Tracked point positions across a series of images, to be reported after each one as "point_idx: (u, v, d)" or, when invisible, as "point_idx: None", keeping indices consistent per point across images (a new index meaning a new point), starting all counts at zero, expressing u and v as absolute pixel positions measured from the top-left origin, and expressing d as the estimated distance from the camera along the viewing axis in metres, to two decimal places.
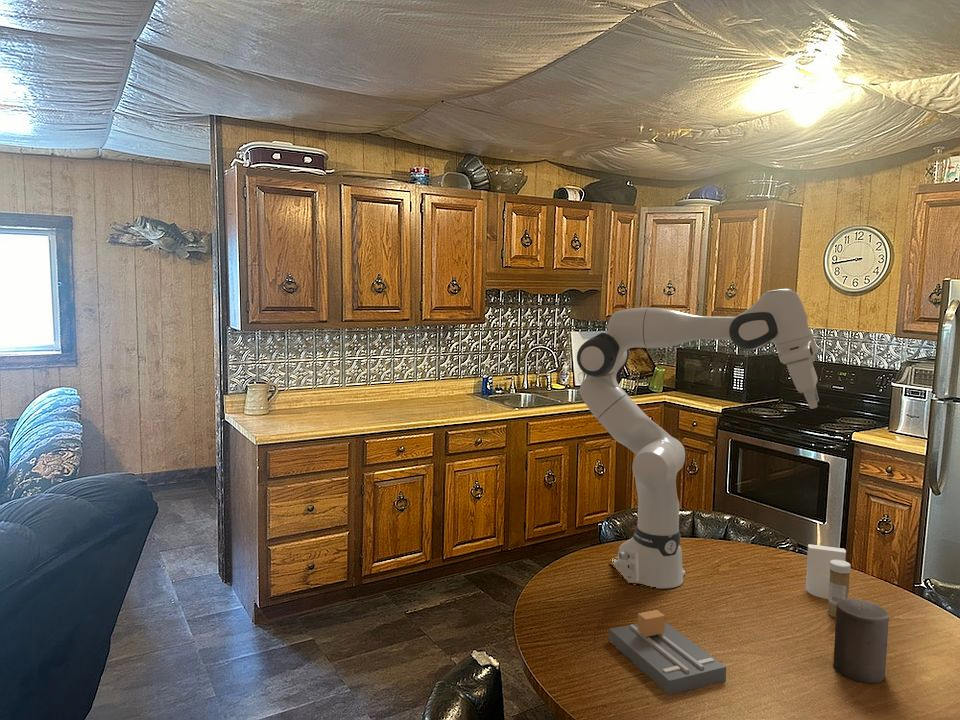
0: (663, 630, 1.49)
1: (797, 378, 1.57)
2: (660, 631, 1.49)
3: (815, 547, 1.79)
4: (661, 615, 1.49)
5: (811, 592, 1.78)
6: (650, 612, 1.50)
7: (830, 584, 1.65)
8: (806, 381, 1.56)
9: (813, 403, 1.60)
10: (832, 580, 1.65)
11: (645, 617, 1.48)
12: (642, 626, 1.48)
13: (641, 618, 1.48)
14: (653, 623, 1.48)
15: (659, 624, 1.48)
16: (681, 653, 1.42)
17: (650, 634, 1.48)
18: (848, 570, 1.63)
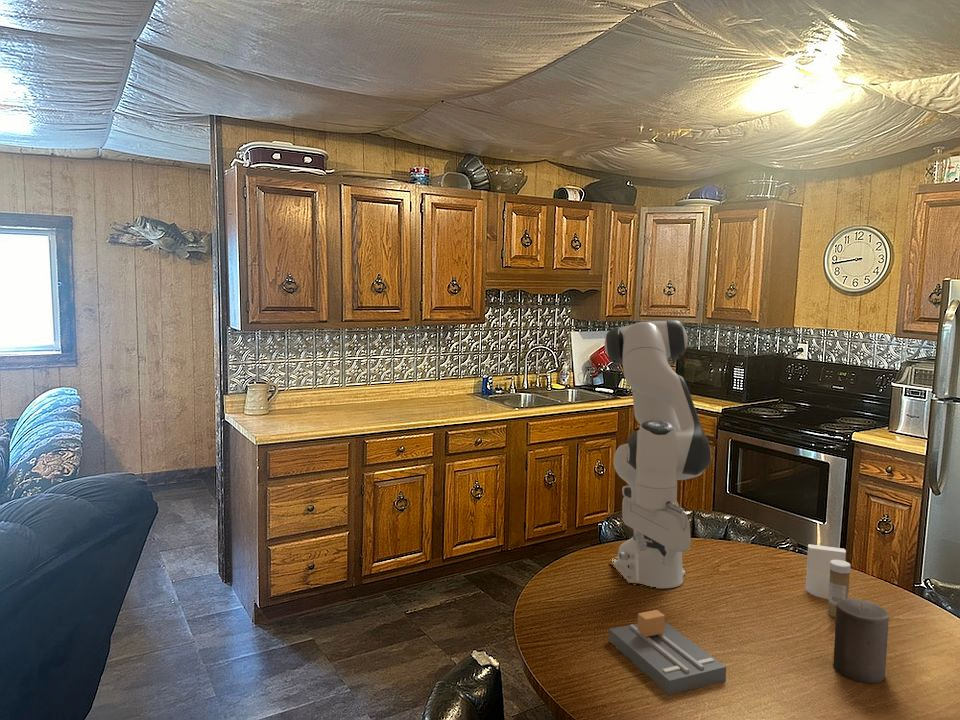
0: (663, 630, 1.49)
1: None
2: (660, 631, 1.49)
3: (815, 547, 1.79)
4: (661, 615, 1.49)
5: (811, 592, 1.78)
6: (650, 612, 1.50)
7: (830, 584, 1.65)
8: None
9: None
10: (832, 580, 1.65)
11: (645, 617, 1.48)
12: (642, 626, 1.48)
13: (641, 618, 1.48)
14: (653, 623, 1.48)
15: (659, 624, 1.48)
16: (681, 653, 1.42)
17: (650, 634, 1.48)
18: (848, 570, 1.63)
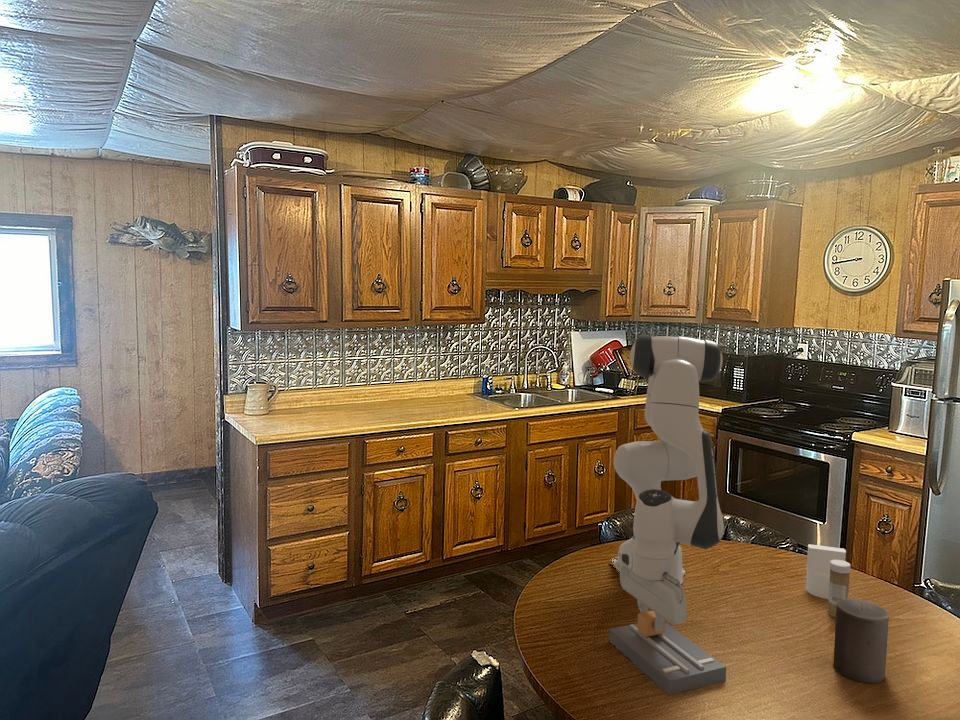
0: (663, 630, 1.49)
1: None
2: (660, 631, 1.49)
3: (815, 547, 1.79)
4: None
5: (811, 592, 1.78)
6: (650, 612, 1.50)
7: (830, 584, 1.65)
8: None
9: None
10: (832, 580, 1.65)
11: (645, 617, 1.48)
12: (642, 626, 1.48)
13: (641, 618, 1.48)
14: None
15: None
16: (681, 653, 1.42)
17: (650, 634, 1.48)
18: (848, 570, 1.63)
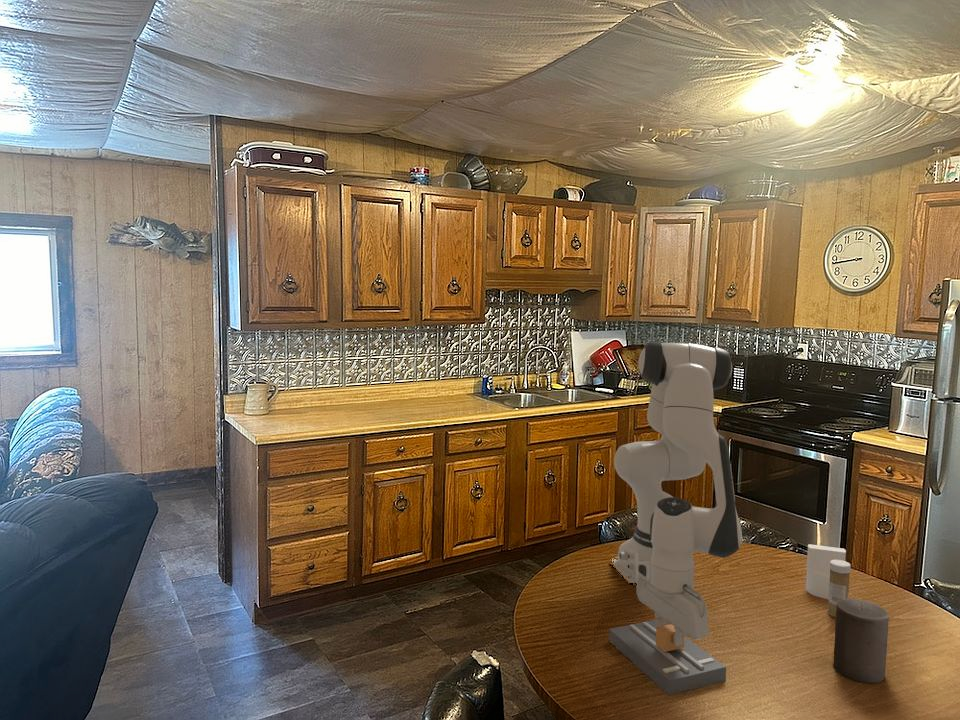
0: (682, 645, 1.43)
1: None
2: (679, 646, 1.42)
3: (815, 547, 1.79)
4: None
5: (811, 592, 1.78)
6: (669, 626, 1.44)
7: (830, 584, 1.65)
8: None
9: None
10: (832, 580, 1.65)
11: (664, 631, 1.41)
12: (661, 640, 1.42)
13: (659, 632, 1.42)
14: None
15: None
16: (681, 653, 1.42)
17: (669, 649, 1.41)
18: (848, 570, 1.63)
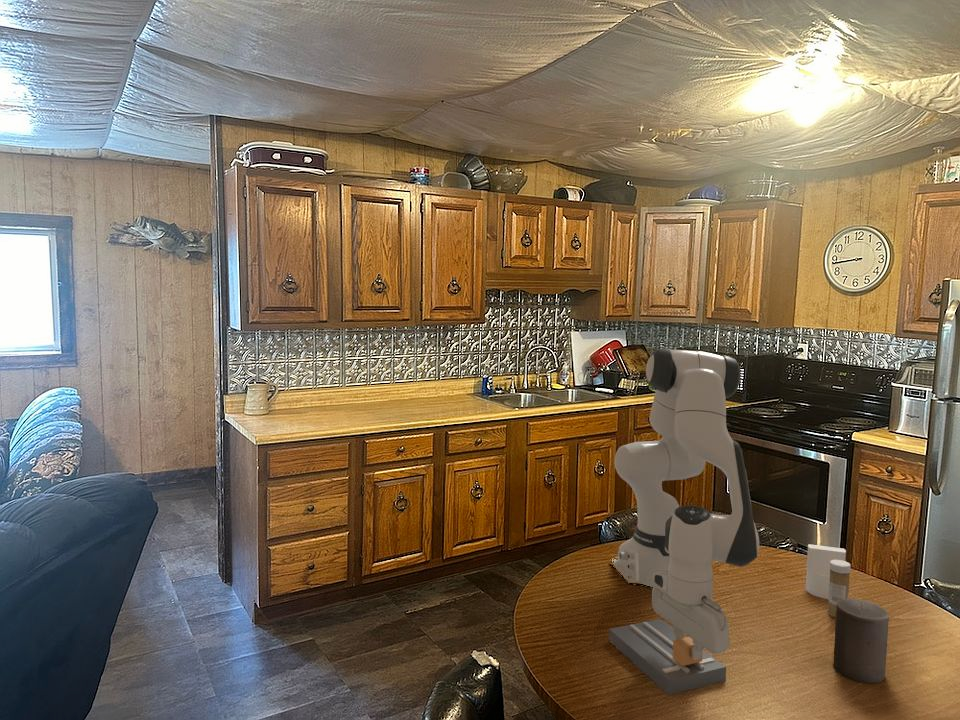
0: (701, 658, 1.37)
1: None
2: (697, 660, 1.37)
3: (815, 547, 1.79)
4: None
5: (811, 592, 1.78)
6: (687, 638, 1.39)
7: (830, 584, 1.65)
8: None
9: None
10: (832, 580, 1.65)
11: (682, 645, 1.36)
12: (678, 654, 1.37)
13: (677, 645, 1.37)
14: None
15: None
16: None
17: (687, 663, 1.36)
18: (848, 570, 1.63)
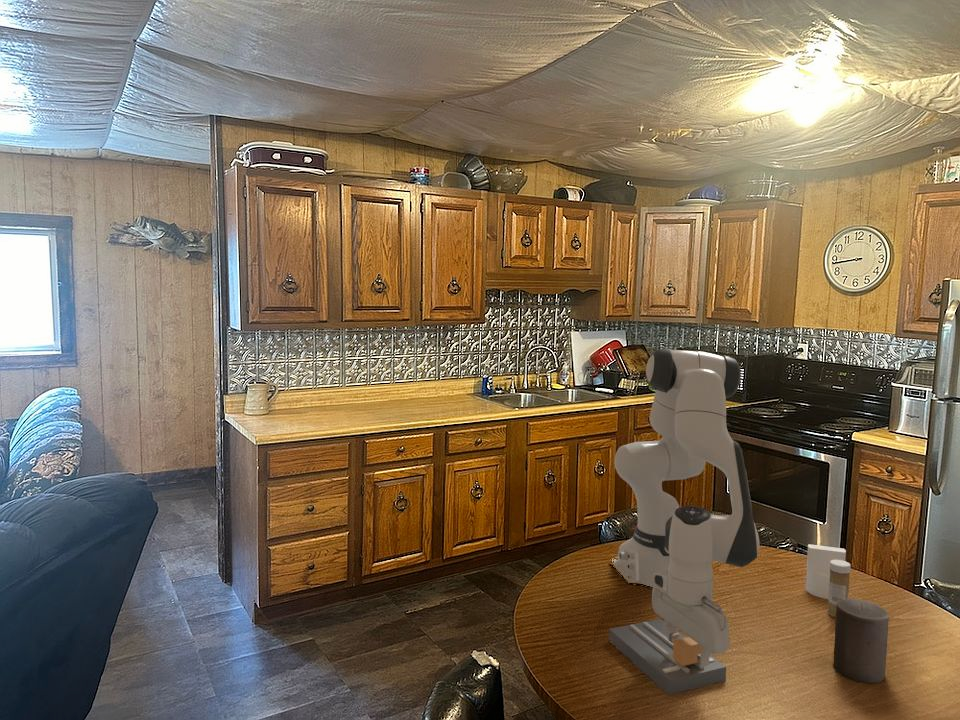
0: None
1: None
2: None
3: (815, 547, 1.79)
4: None
5: (811, 592, 1.78)
6: (687, 639, 1.39)
7: (830, 584, 1.65)
8: None
9: None
10: (832, 580, 1.65)
11: (682, 645, 1.36)
12: (678, 654, 1.36)
13: (677, 646, 1.37)
14: (690, 651, 1.36)
15: (696, 652, 1.37)
16: None
17: (687, 663, 1.36)
18: (848, 570, 1.63)
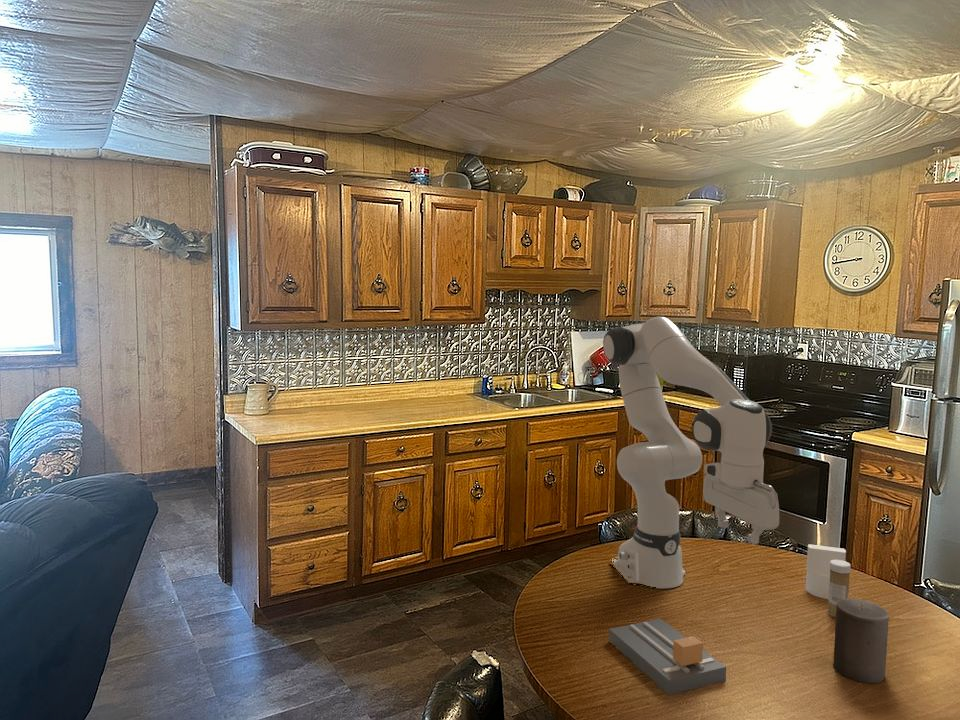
0: (701, 659, 1.37)
1: None
2: (698, 660, 1.37)
3: (815, 547, 1.79)
4: (699, 642, 1.37)
5: (811, 592, 1.78)
6: (687, 639, 1.39)
7: (830, 584, 1.65)
8: None
9: None
10: (832, 580, 1.65)
11: (682, 645, 1.36)
12: (678, 654, 1.36)
13: (677, 646, 1.37)
14: (690, 651, 1.36)
15: (696, 652, 1.37)
16: None
17: (687, 663, 1.36)
18: (848, 570, 1.63)
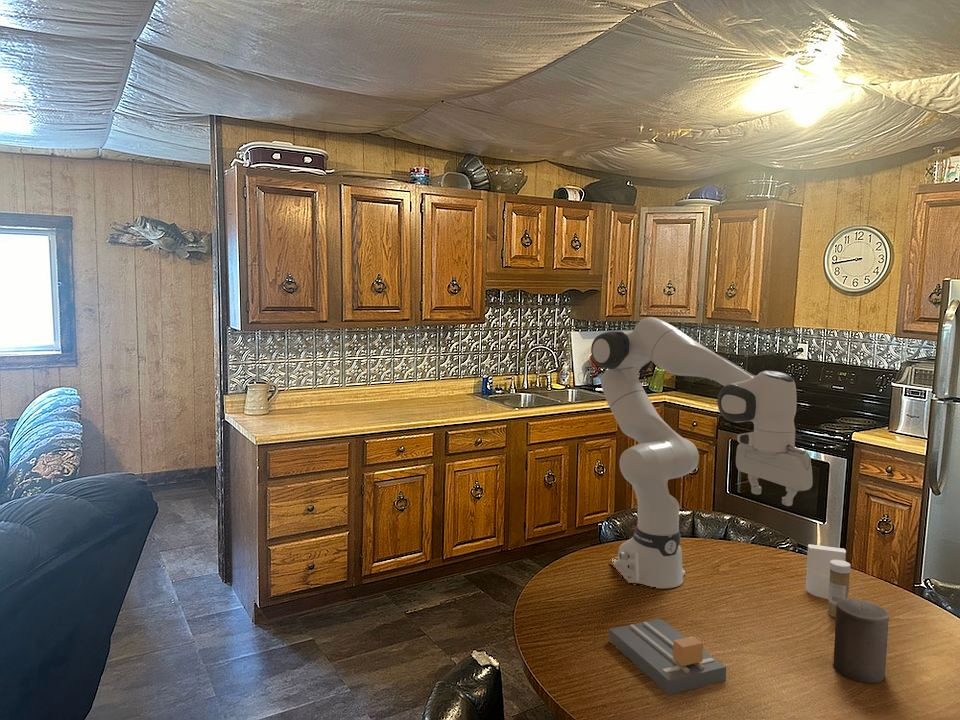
0: (701, 659, 1.37)
1: None
2: (698, 660, 1.37)
3: (815, 547, 1.79)
4: (699, 642, 1.37)
5: (811, 592, 1.78)
6: (687, 639, 1.39)
7: (830, 584, 1.65)
8: None
9: None
10: (832, 580, 1.65)
11: (682, 645, 1.36)
12: (678, 654, 1.36)
13: (677, 646, 1.37)
14: (690, 651, 1.36)
15: (696, 652, 1.37)
16: None
17: (687, 663, 1.36)
18: (848, 570, 1.63)
